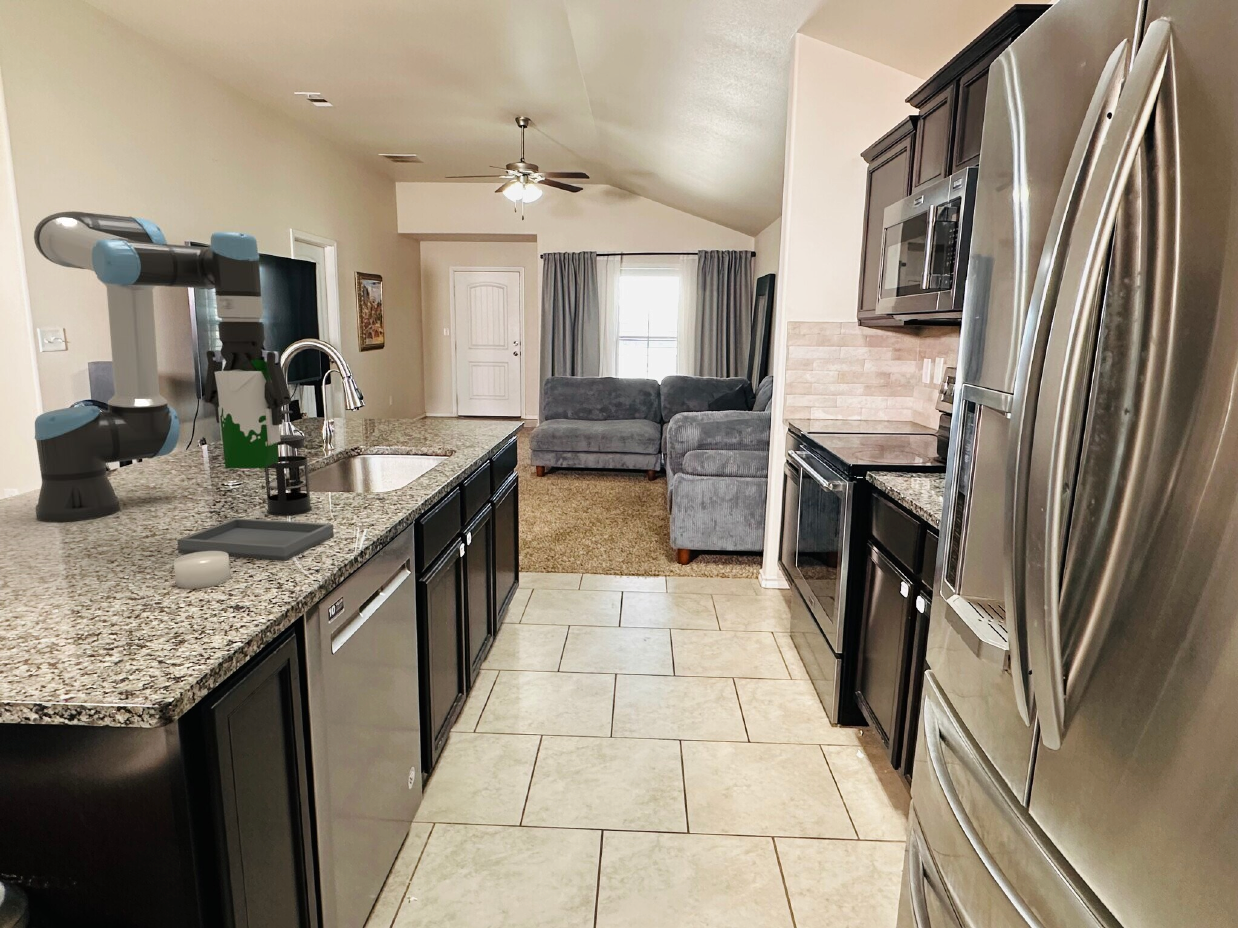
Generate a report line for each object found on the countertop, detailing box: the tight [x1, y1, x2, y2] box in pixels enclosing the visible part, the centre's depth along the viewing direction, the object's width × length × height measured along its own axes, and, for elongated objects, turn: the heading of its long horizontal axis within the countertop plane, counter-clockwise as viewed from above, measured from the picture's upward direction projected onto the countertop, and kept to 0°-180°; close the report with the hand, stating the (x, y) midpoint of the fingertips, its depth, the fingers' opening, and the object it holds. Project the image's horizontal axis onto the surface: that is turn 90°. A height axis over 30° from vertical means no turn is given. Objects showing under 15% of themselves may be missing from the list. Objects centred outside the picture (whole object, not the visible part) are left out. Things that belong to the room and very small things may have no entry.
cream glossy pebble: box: [173, 551, 232, 589], centre depth 124 cm, size 8×8×4 cm
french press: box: [264, 409, 313, 517], centre depth 168 cm, size 12×9×23 cm
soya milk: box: [215, 358, 279, 469], centre depth 139 cm, size 9×9×20 cm
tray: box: [176, 517, 335, 561], centre depth 144 cm, size 22×16×2 cm
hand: (250, 441), depth 140 cm, fingers closed on soya milk, 9 cm apart
